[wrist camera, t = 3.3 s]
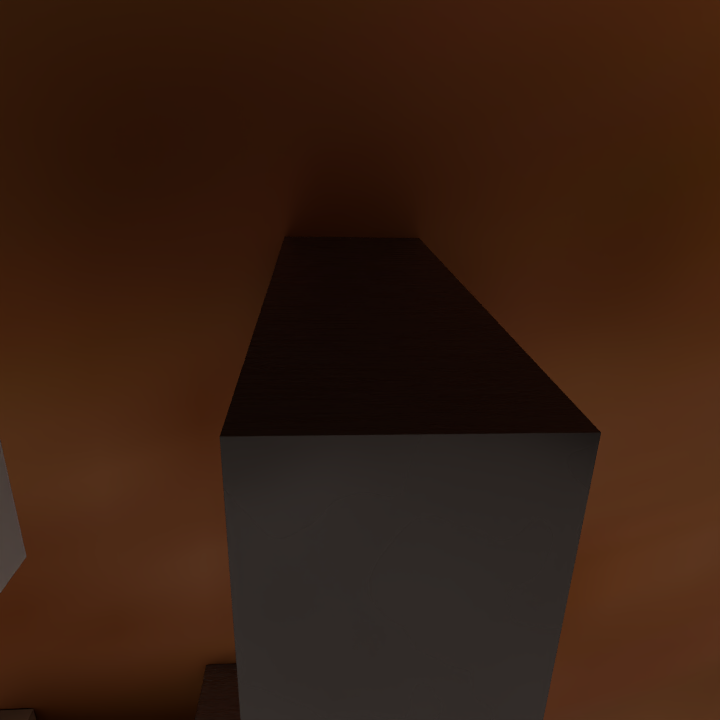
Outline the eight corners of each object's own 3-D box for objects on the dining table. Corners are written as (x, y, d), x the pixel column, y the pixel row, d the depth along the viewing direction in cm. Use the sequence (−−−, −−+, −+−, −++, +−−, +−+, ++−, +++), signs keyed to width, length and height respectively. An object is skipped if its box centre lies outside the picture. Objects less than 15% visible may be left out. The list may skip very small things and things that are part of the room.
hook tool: (163, 234, 17) (-146, 440, 6) (419, 238, 17) (601, 432, 6) (209, 701, 24) (113, 1204, 13) (390, 693, 24) (451, 1170, 13)
